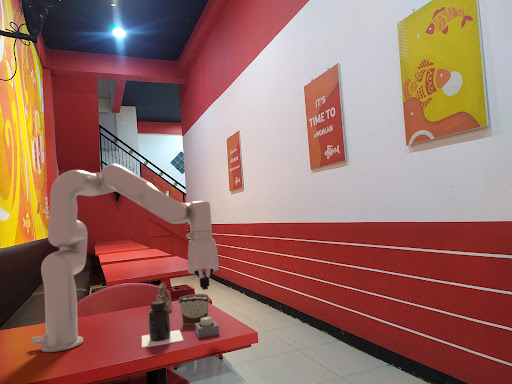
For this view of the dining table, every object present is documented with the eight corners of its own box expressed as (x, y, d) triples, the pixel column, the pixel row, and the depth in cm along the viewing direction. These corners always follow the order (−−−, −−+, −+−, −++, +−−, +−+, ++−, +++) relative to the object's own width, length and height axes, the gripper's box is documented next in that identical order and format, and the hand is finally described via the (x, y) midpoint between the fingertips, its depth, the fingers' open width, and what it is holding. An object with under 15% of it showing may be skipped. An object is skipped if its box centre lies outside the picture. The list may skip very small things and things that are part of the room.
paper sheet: (141, 347, 114) (141, 347, 114) (141, 336, 125) (141, 335, 125) (183, 341, 118) (183, 340, 118) (179, 330, 129) (179, 329, 129)
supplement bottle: (161, 333, 126) (159, 298, 127) (174, 336, 122) (172, 300, 123) (145, 340, 121) (143, 303, 121) (158, 342, 117) (156, 305, 118)
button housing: (198, 338, 120) (198, 328, 120) (195, 331, 127) (195, 323, 127) (219, 334, 122) (218, 325, 122) (215, 328, 129) (214, 320, 129)
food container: (214, 318, 142) (213, 293, 142) (211, 323, 136) (209, 296, 136) (184, 320, 143) (182, 294, 144) (179, 324, 137) (177, 298, 137)
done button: (201, 329, 122) (201, 320, 122) (200, 326, 126) (199, 317, 126) (213, 328, 123) (213, 319, 123) (211, 324, 127) (210, 316, 127)
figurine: (152, 312, 158) (151, 285, 159) (160, 308, 165) (159, 281, 166) (167, 312, 156) (166, 284, 157) (174, 308, 163) (173, 281, 164)
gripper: (180, 238, 121) (184, 294, 119) (224, 234, 125) (228, 287, 124) (178, 237, 128) (182, 290, 127) (220, 234, 132) (223, 284, 131)
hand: (204, 288), depth 125 cm, fingers closed
